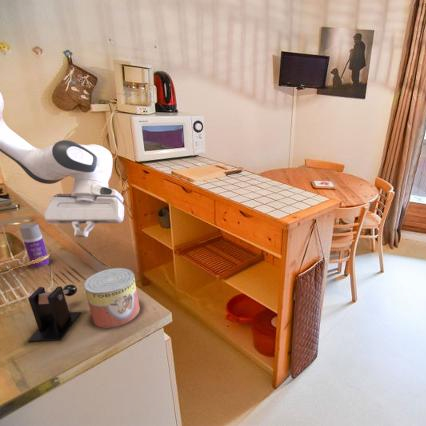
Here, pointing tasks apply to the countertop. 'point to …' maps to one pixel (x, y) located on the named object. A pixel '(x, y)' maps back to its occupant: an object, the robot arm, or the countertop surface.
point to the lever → (67, 290)
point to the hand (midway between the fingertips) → (80, 236)
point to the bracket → (51, 316)
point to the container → (34, 243)
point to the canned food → (112, 297)
